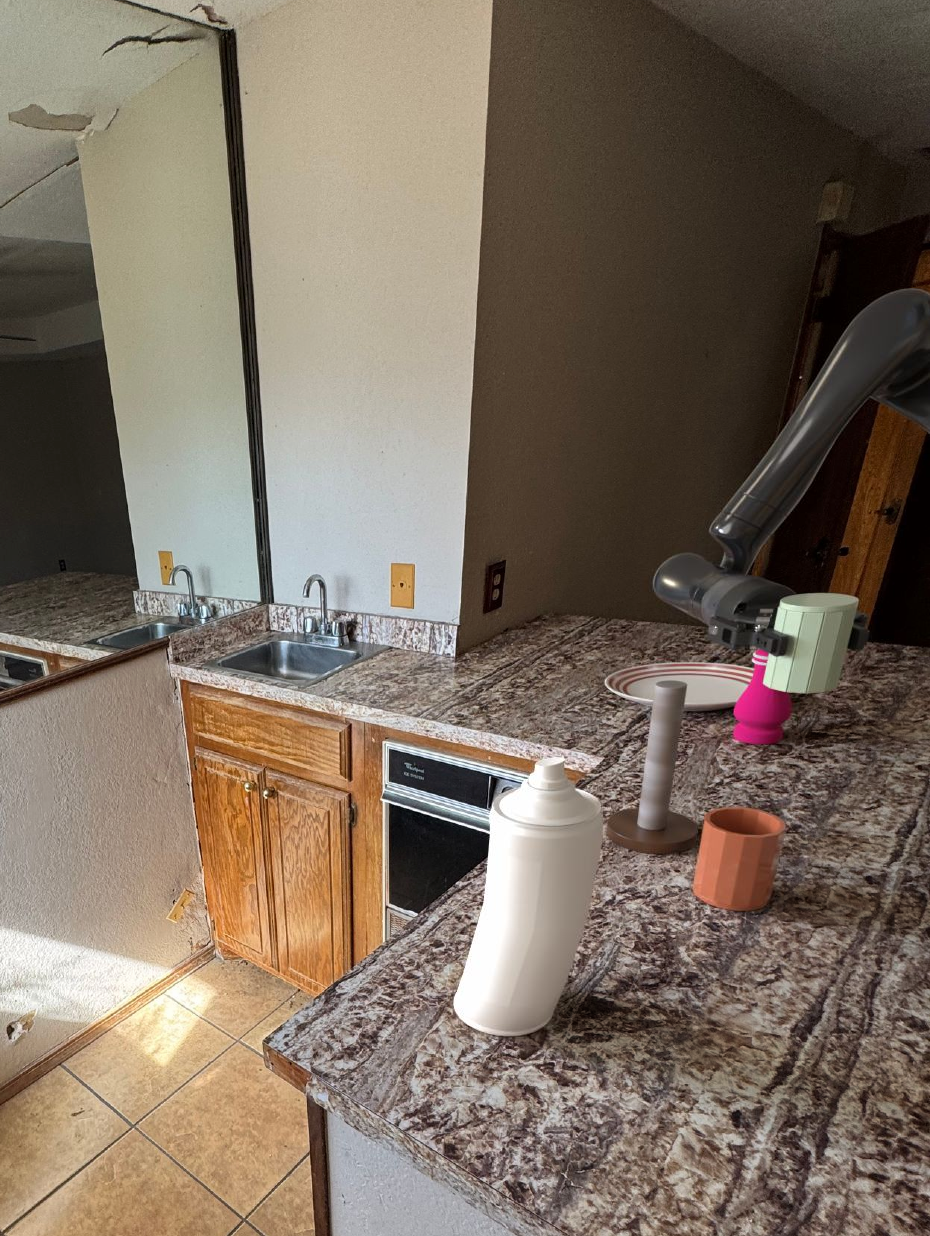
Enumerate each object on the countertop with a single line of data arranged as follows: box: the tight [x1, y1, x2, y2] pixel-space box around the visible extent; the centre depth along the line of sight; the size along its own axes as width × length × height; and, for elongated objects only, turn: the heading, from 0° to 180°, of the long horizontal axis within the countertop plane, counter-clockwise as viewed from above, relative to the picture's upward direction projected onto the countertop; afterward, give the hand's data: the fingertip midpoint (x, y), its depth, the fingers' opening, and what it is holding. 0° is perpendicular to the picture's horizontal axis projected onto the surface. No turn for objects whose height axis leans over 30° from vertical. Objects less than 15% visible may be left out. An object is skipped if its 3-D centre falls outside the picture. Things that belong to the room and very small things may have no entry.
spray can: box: [453, 756, 604, 1037], centre depth 66 cm, size 12×11×25 cm
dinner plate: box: [604, 661, 754, 712], centre depth 135 cm, size 28×27×3 cm
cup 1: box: [692, 806, 787, 912], centre depth 79 cm, size 7×7×9 cm
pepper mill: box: [732, 649, 793, 745], centre depth 112 cm, size 7×7×20 cm
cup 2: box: [763, 592, 860, 694], centre depth 78 cm, size 6×6×9 cm
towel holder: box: [605, 680, 699, 855], centre depth 90 cm, size 10×10×20 cm
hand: (822, 643), depth 76 cm, fingers closed on cup 2, 6 cm apart
